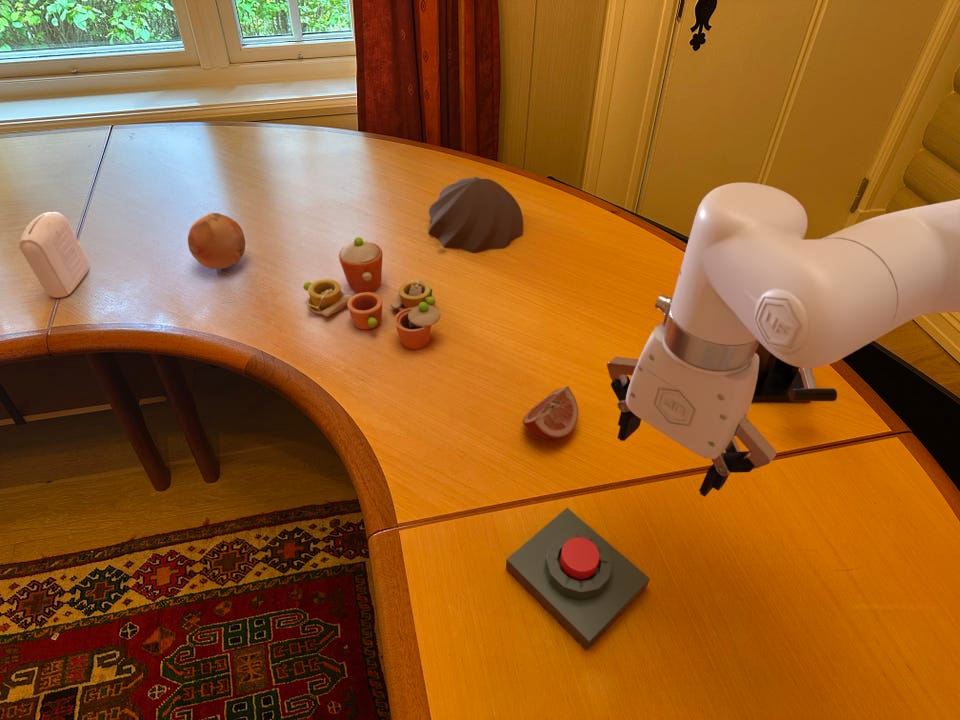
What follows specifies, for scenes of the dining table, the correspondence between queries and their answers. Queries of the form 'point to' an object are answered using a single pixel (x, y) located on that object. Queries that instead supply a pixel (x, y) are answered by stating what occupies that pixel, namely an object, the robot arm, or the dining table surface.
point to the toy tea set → (375, 296)
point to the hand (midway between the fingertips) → (667, 458)
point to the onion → (216, 241)
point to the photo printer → (54, 254)
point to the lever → (811, 389)
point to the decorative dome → (475, 216)
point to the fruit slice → (553, 415)
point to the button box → (571, 600)
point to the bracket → (775, 378)
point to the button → (579, 558)
